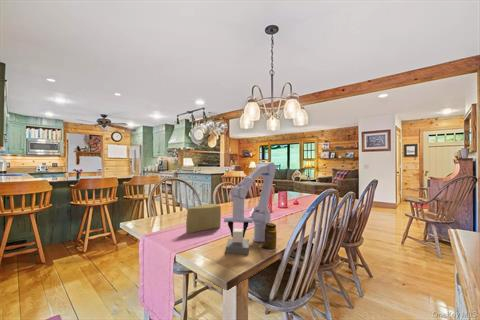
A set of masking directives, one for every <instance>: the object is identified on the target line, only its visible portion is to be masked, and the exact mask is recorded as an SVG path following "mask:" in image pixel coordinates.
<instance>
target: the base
mask: <svg viewBox="0 0 480 320" xmlns="http://www.w3.org/2000/svg"><path fill="white" fill-rule="evenodd" d="M249 247H250V238H249V239H247V238H243V242H233V238H227V242H226V245H225V254H238V255H240V254H241V255H249V250H250V249H249Z"/></svg>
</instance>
